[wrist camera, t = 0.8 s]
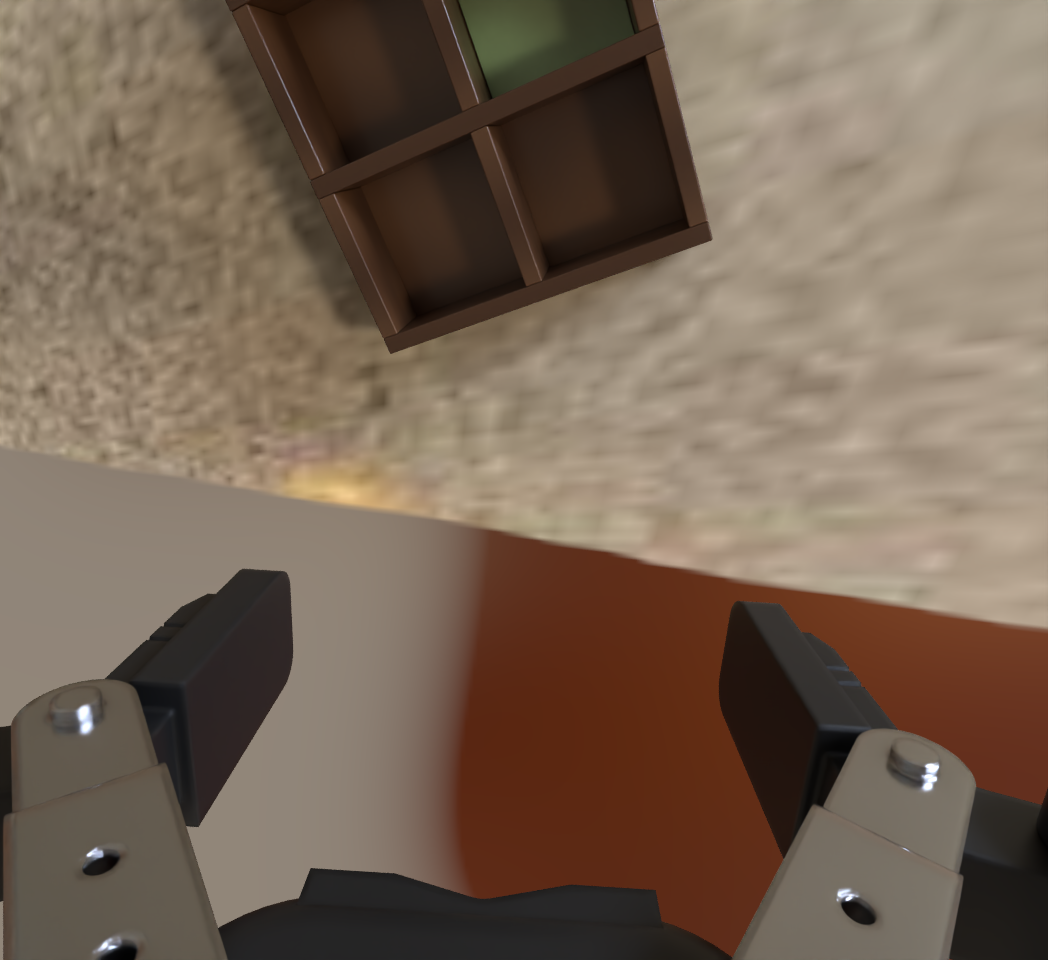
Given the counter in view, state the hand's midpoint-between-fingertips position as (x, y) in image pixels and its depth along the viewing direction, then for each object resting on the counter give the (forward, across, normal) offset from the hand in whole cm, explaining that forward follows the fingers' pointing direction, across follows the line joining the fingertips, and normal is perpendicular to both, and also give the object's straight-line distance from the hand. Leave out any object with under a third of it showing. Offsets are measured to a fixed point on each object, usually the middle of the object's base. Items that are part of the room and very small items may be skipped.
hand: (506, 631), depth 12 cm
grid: (+24, +2, -13) cm, 27 cm away
